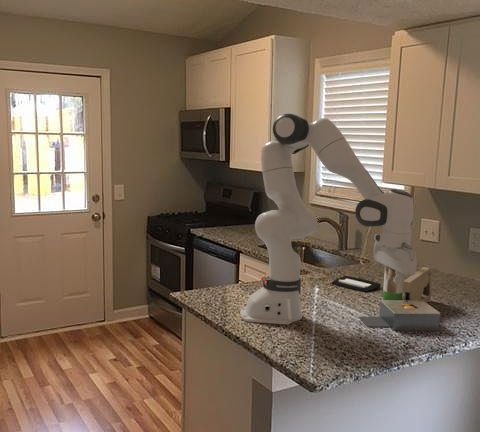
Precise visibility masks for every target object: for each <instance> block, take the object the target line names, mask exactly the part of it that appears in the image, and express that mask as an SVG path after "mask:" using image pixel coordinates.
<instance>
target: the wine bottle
mask: <svg viewBox="0 0 480 432" xmlns="http://www.w3.org/2000/svg"><path fill="white" fill-rule="evenodd" d="M383 276H384V277H383V291H382V297H383V300H403V293H404V291H403V281H404V280H405V275H404V274H403V275H402V277H401V278H400V283H399V284H397V289H396V293H389V292H387V283H388V280H387V279H386V273H385V272H384V275H383Z"/></svg>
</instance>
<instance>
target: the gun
mask: <svg viewBox="0 0 480 432" xmlns="http://www.w3.org/2000/svg"><path fill="white" fill-rule="evenodd" d="M431 276H433V271H432V269H431V268H430V267H427V266H423V267H421V268H420V269H418V270H416V273H415V274H414V275H409V277H407V278H406V279H404V281H403V293H404V296H402V300H422V301H424V302H426V303H430V302H431V299H432V293H433V288H432V278H431Z"/></svg>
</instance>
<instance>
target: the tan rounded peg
mask: <svg viewBox="0 0 480 432" xmlns="http://www.w3.org/2000/svg"><path fill="white" fill-rule="evenodd" d="M395 275H396V273H395V270H394V269H392V268H389V272H388V283H387V292H389V293H396V289H397V284H395V283H393V277H395Z"/></svg>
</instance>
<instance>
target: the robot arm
mask: <svg viewBox="0 0 480 432" xmlns="http://www.w3.org/2000/svg"><path fill="white" fill-rule="evenodd" d="M272 133H273V136H274V138H275V139H273V140H270V141H267V142H266V143H264V144H263V146H262V147H261V151H260V152H261V153H260V161H261V163H260V164H261V171H262V178H263V185H264V190H265V191H264V192H265V194H266V196H267V197H268V198H269V199H270V200H272V201H273V202H274V204H275V205H276V206H277V208H278V209H270V210H269V211H265V212H262V213H261V214H259V215H258V216H257V217H256V220H255V222H254V231H255V233H256V236H257V237H258V238H259V239H260V240H261V241H263V243H264V244H265V246H266V249H267V253H268V258H269V259H268V261H269V262H268V263H269V265H268V266H269V267H268V276H267V277H266V276H265V275H261V277H260V280H261V282H262V287H260V288H259V289H258V290H256V291H254V292H253V293H251V294H250V296H248V299H247V301H246V306H243V307H241V308H240V311H239V315H240V318H241V319H242V320H243V321H245V322H249V323H262V324H275V325H291V323H294V322H297V321H300V320H301V319H303V314H302V308H301V301H300V300H301V299H300V298H301V297H300V294H301V290H302V279H301V262H302V260H301V257H300V255H299V254H298V253H297V252H296V251H295V250H294V249H293V247H292V240H299V239H304V238H306V237H308V236H311V235H313V234H314V233H315V232H316V231H317V227H318V218H317V216H316V213H315V212H314V211H313V210H311V209H310V208H308V206H307V205H306V203H305V202H304V201H303V199H302V197H301V195H300V193H299V190H298V187H297V182H296V177H295V171H294V167H293V159H292V157H293V155H296V154H297V153H299V152H301V151H303V150H305V149H306V148H308V147H309V146H310V147H311V149H312V150H313V151H314V152H315V154H316V156H317V157H318V159H319V161H320V162H321V164H322V165H323V166H324V168H326V169H327V170H328V171H329V172H330V173H332V174H335V175H338V176H341V177H343V178H346V179H347V180H348V181H350V182H351V183H352V185H354V186H355V188H356V189H357V191H358V192H359V193H360V195H361V196H362V198H363V199H362V200H360V201H359V202H358V203H357V204H356V206H355V210H354V212H355V213H354V215H355V218H356V221H357V222H358V223H359V224H360V225H362V226H363V227H367V228H373V227H382V232H379V233H376V234H374V237H373V238H374V239H373V240H374V241H375V242H374V245H373V258H374V261H375V262H377V263H379V264H381V265H383V269H384V274H385V273H386V279H387V280H388V272H389V268H392V269H394V270H395V273H396V275H395V277H393V283H395V284H399V283H400V278H401V277H402V275H403V274H404V276H412V275H414V274H415V273H416V272H417V268H418V267H417V266H418V265H417V263H418V262H417V253H416V250H415V249H414V246H413V245H411V239H412V228H411V225H412V222H413V220H414V217H413V216H414V200H413V196H412V195H411V194H410V192H408V191H405V190H402V189H396V188H392V189H389V190H387V191H386V192H384V191H383V190H382V189H381V187H379V185H378V184H377V182H376V181H375V180H374V178H373V177H372V176H371V175H370V173H369V172H368V169H366V168H365V166H364V165H363V164H362V162H361V160H360V159H359V158H358V156H357V155H356V154H355V151H354V150H353V149H352V147H351V145H350V144H349V142H348V141H347V139H346V137H345V136H344V135H343V133H342V132H341V131H340V130H339V128H338V127H337V126H336V124H335V123H334V122H333V121H331V120H330V119H329V118H327V117H326V118H325V117H322V118H318V119H316V120H314V121H312V122H308V120H307V119H305V118H303V117H301V116H299V115H297V114H293V113H283V114H280V115H279V116H278V117H277V118H276V119H275V120H274V122H273V125H272Z"/></svg>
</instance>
